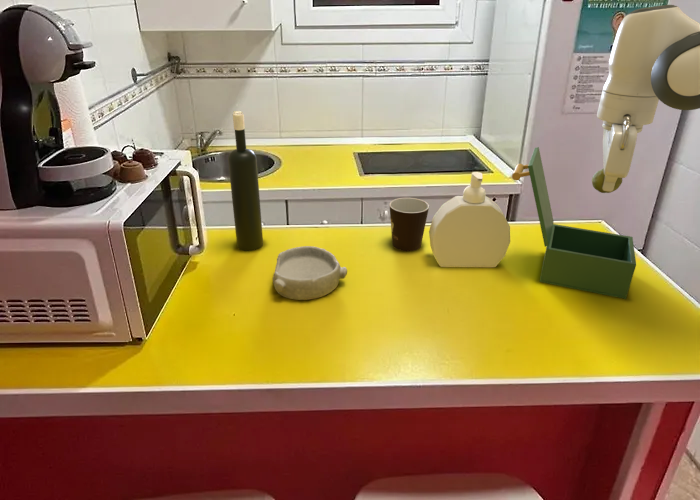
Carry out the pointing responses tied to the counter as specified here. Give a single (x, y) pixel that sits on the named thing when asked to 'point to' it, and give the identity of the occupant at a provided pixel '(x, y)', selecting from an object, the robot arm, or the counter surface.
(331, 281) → the dish
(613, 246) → the green box
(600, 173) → the lime
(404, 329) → the counter surface
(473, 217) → the soap bottle
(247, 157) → the wine bottle
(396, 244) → the coffee mug
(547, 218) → the lid
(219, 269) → the counter surface
